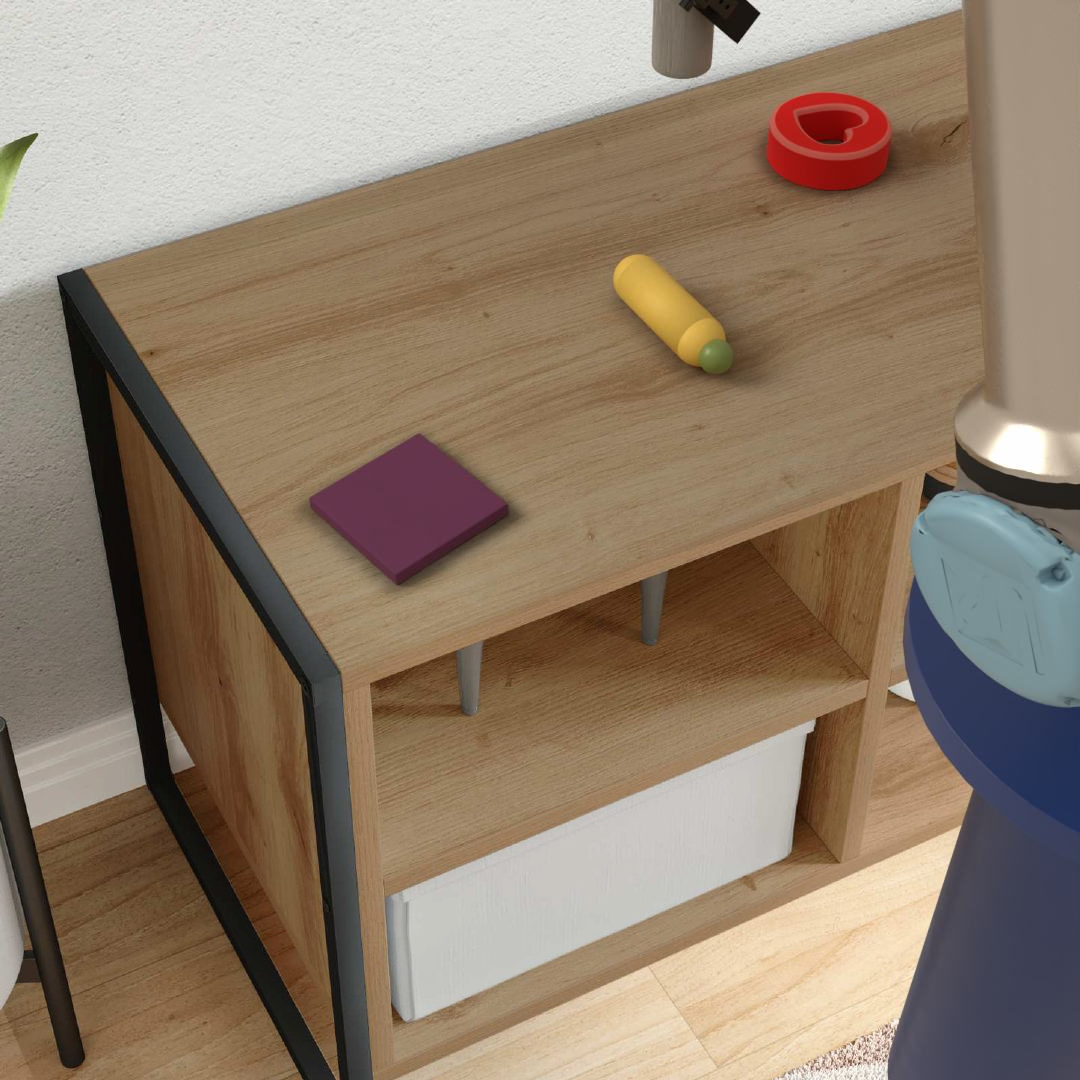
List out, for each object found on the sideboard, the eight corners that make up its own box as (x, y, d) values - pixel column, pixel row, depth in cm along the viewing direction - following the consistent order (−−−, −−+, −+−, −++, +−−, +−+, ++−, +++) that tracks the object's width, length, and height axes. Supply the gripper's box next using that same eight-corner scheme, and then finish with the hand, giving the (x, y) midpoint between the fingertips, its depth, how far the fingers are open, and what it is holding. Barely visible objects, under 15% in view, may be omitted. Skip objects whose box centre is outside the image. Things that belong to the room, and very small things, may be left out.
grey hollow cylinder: (702, 84, 116) (709, -50, 109) (643, 74, 117) (647, -59, 110) (718, 54, 119) (727, -78, 112) (661, 45, 120) (666, -87, 113)
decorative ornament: (771, 119, 131) (775, 85, 129) (889, 129, 130) (894, 95, 127) (761, 184, 125) (764, 149, 122) (884, 195, 123) (890, 160, 121)
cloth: (508, 514, 100) (508, 503, 99) (396, 585, 96) (395, 574, 95) (420, 443, 105) (419, 432, 104) (310, 508, 101) (308, 497, 100)
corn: (745, 377, 109) (749, 337, 106) (702, 395, 108) (705, 354, 105) (645, 278, 117) (646, 238, 114) (603, 294, 115) (604, 253, 113)
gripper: (430, -162, 106) (632, 5, 124) (560, -61, 96) (762, 106, 113) (495, -261, 104) (692, -77, 122) (636, -169, 94) (830, 18, 111)
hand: (725, 11), depth 117 cm, fingers closed on grey hollow cylinder, 5 cm apart
